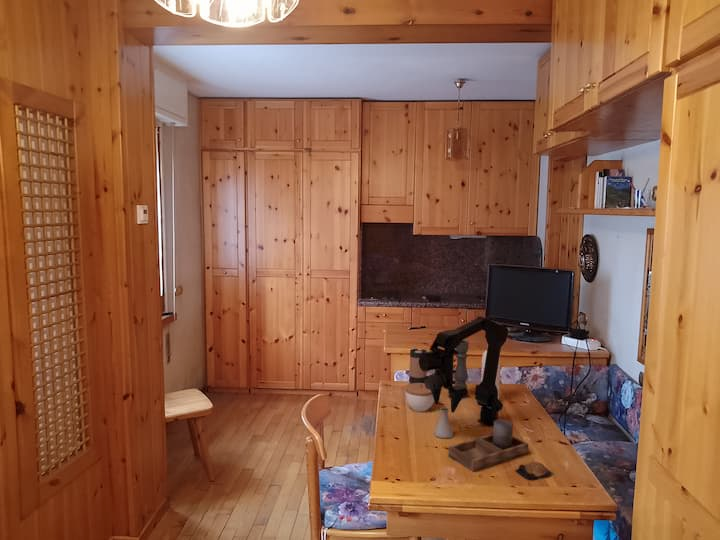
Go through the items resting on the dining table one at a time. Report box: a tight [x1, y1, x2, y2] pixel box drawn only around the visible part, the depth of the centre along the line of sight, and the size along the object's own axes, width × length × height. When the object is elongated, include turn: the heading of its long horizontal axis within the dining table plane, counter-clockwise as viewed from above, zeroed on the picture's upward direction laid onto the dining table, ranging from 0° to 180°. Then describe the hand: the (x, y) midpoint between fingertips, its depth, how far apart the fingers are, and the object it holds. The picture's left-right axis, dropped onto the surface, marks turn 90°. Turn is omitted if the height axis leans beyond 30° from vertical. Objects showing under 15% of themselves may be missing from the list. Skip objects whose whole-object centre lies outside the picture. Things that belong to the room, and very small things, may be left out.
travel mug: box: [408, 348, 428, 384], centre depth 232 cm, size 8×8×20 cm
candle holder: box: [453, 339, 470, 400], centre depth 229 cm, size 6×6×25 cm
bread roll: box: [514, 461, 555, 482], centre depth 163 cm, size 11×8×4 cm
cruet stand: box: [448, 418, 529, 473], centre depth 174 cm, size 25×12×10 cm, turn 121°
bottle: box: [480, 343, 501, 400], centre depth 223 cm, size 8×8×30 cm
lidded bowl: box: [404, 383, 435, 413], centre depth 215 cm, size 13×13×11 cm
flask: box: [433, 407, 454, 439], centre depth 190 cm, size 7×7×10 cm
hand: (444, 408), depth 189 cm, fingers open, 9 cm apart
